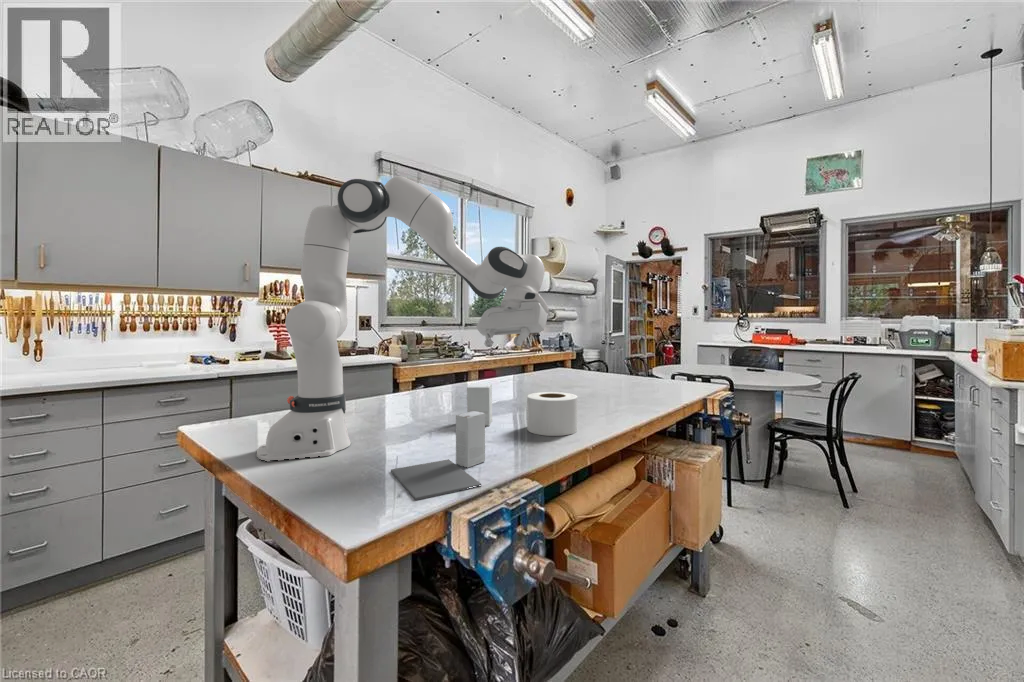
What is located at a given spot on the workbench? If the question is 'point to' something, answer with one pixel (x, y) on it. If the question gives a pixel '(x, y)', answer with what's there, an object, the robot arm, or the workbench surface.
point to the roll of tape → (552, 413)
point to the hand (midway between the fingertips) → (502, 345)
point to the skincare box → (470, 438)
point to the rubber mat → (433, 479)
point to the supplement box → (480, 400)
